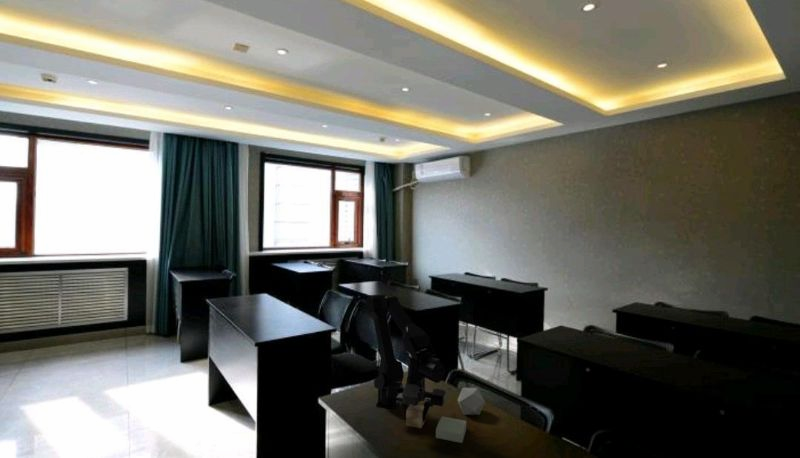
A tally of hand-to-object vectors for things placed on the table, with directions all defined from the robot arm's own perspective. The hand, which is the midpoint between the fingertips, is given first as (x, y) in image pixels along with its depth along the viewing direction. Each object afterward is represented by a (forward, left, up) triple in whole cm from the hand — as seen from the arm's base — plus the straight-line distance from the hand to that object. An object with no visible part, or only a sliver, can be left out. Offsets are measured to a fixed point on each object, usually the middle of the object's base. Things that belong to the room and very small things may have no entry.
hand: (415, 419), depth 122 cm
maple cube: (0, 0, -1) cm, 1 cm away
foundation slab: (+12, -2, -1) cm, 12 cm away
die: (+16, +13, -1) cm, 21 cm away
